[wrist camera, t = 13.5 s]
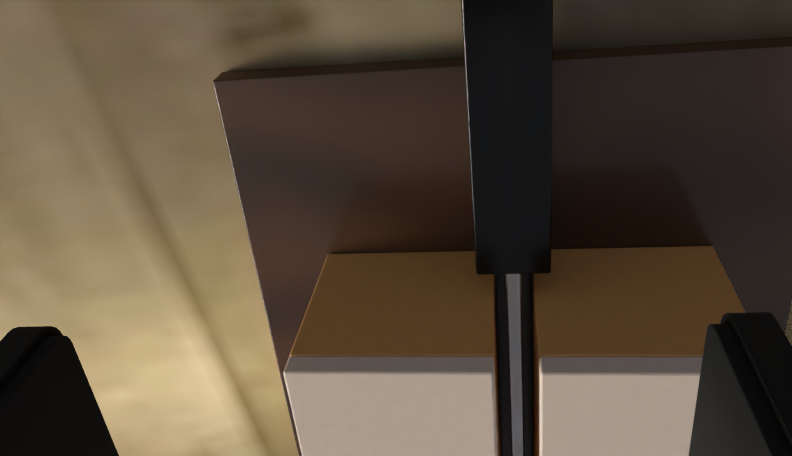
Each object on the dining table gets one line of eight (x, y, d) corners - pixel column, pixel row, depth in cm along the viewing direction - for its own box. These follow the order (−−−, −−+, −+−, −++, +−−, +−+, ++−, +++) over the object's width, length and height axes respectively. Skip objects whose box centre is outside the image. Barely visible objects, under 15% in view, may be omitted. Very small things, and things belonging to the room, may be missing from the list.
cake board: (221, 72, 25) (212, 80, 25) (833, 33, 22) (846, 42, 22) (316, 497, 36) (312, 514, 35) (738, 510, 33) (744, 529, 32)
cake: (327, 253, 28) (281, 372, 22) (713, 244, 25) (777, 374, 20) (369, 502, 34) (343, 643, 29) (676, 512, 32) (716, 667, 26)
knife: (463, -67, 21) (458, -48, 19) (545, -74, 21) (553, -56, 18) (491, 491, 33) (491, 553, 30) (545, 493, 33) (549, 555, 30)
